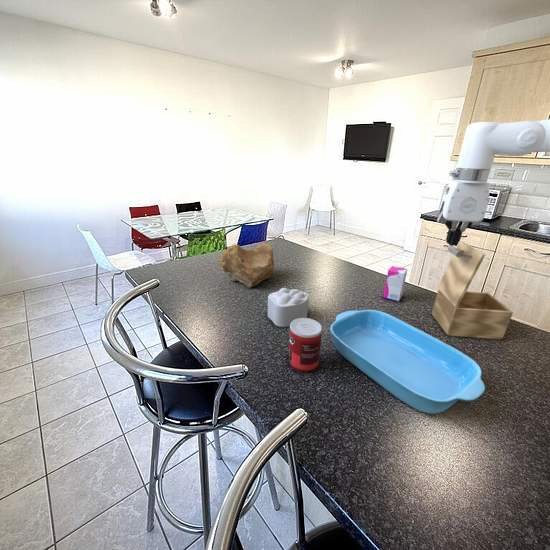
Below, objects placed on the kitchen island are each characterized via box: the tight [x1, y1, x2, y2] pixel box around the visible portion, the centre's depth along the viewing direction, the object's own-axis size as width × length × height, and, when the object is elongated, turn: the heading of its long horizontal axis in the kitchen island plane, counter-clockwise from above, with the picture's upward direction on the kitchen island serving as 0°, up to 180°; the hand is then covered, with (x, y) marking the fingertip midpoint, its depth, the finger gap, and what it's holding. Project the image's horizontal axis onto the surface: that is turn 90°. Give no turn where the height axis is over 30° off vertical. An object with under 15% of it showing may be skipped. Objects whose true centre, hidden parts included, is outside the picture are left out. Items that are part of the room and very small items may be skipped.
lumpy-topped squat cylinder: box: [267, 287, 310, 328], centre depth 94 cm, size 10×13×9 cm
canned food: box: [287, 317, 323, 372], centre depth 73 cm, size 8×8×11 cm
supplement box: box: [382, 265, 408, 303], centre depth 108 cm, size 6×6×12 cm
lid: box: [437, 240, 486, 307], centre depth 86 cm, size 16×13×5 cm
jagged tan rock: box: [219, 242, 275, 289], centre depth 117 cm, size 23×17×15 cm
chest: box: [431, 289, 514, 340], centre depth 91 cm, size 16×13×9 cm
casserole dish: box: [329, 309, 486, 414], centre depth 73 cm, size 37×22×7 cm, turn 35°
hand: (451, 244), depth 82 cm, fingers closed
